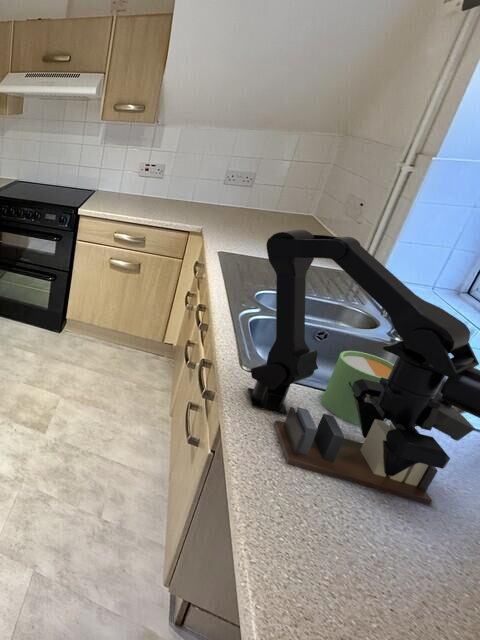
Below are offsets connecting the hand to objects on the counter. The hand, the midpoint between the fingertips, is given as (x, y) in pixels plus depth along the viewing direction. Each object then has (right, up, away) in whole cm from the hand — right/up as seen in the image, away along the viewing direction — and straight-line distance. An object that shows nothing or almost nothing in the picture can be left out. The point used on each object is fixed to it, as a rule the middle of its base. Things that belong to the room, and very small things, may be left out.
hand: (376, 455), depth 75 cm
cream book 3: (+4, -3, -1) cm, 5 cm away
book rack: (-4, -2, +3) cm, 5 cm away
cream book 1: (0, -2, +1) cm, 2 cm away
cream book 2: (+2, -2, 0) cm, 3 cm away
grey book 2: (-7, -1, +3) cm, 8 cm away
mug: (+11, +2, +15) cm, 19 cm away
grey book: (-10, 0, +5) cm, 12 cm away
